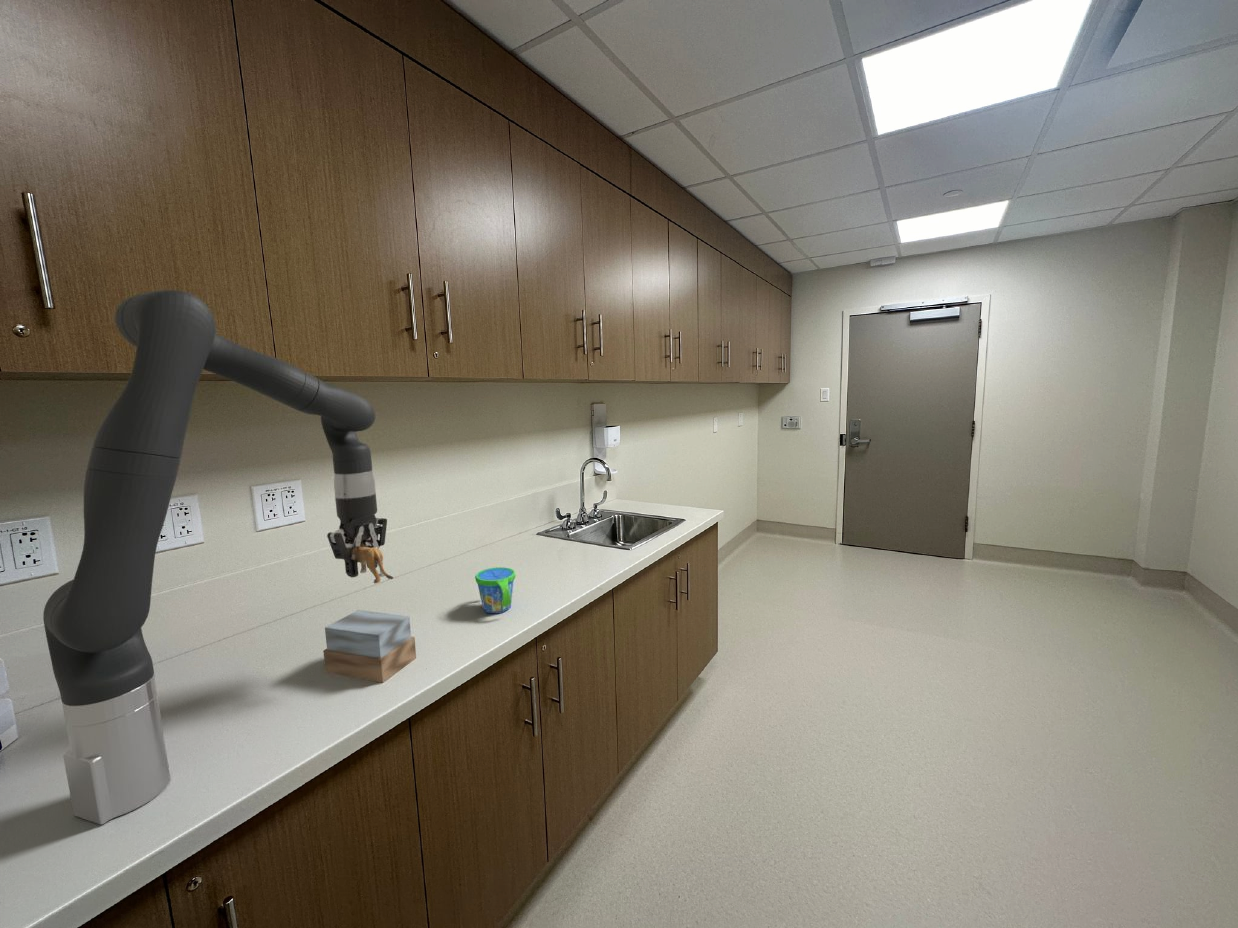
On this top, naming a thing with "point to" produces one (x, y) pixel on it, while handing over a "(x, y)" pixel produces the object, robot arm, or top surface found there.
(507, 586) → the snack cup
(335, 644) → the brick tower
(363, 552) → the lion figurine
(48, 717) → the top surface
